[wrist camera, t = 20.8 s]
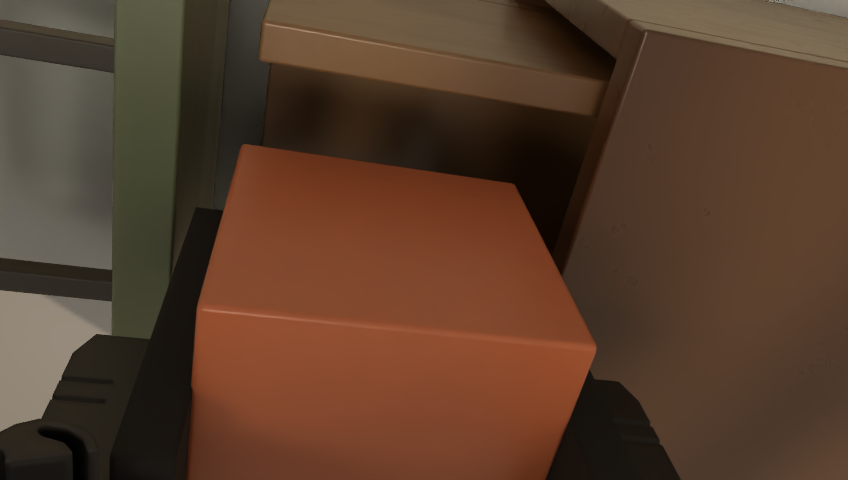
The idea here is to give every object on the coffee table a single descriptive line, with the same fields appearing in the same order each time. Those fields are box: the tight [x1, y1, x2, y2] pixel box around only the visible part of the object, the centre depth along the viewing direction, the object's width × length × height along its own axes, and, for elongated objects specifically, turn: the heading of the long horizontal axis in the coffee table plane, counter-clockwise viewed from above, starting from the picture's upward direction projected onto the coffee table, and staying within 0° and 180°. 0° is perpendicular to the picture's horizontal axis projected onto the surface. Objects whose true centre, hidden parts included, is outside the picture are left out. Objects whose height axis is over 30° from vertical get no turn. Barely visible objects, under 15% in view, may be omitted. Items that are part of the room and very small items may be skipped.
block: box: [186, 144, 597, 480], centre depth 13 cm, size 6×6×6 cm
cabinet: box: [510, 0, 848, 480], centre depth 22 cm, size 15×13×10 cm
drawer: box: [0, 0, 617, 339], centre depth 19 cm, size 19×11×8 cm, turn 78°
